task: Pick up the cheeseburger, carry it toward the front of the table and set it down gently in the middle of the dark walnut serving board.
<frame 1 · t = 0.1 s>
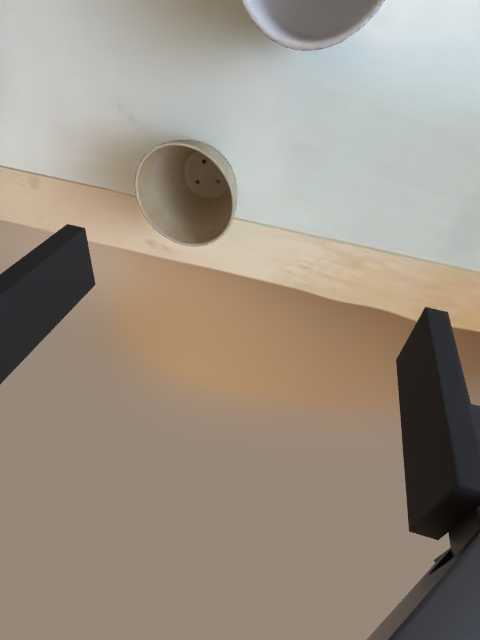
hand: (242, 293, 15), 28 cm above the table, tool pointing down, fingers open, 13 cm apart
bowl: (207, 172, 42), on the table
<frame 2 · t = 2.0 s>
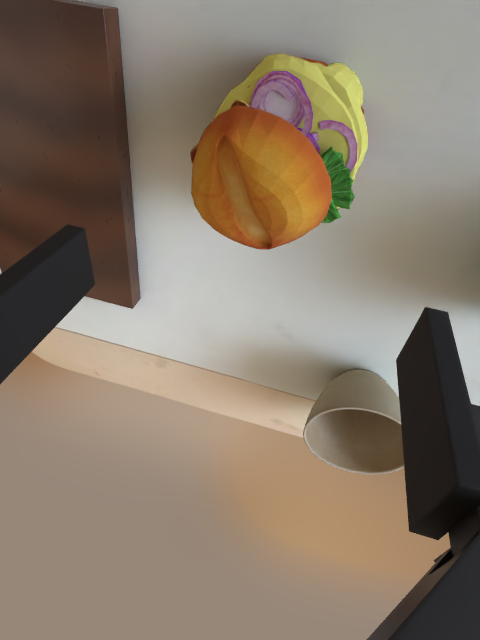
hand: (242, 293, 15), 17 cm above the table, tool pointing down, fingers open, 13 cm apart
bowl: (359, 383, 40), on the table
serving board: (52, 170, 33), on the table
cheeseburger: (290, 143, 27), on the table
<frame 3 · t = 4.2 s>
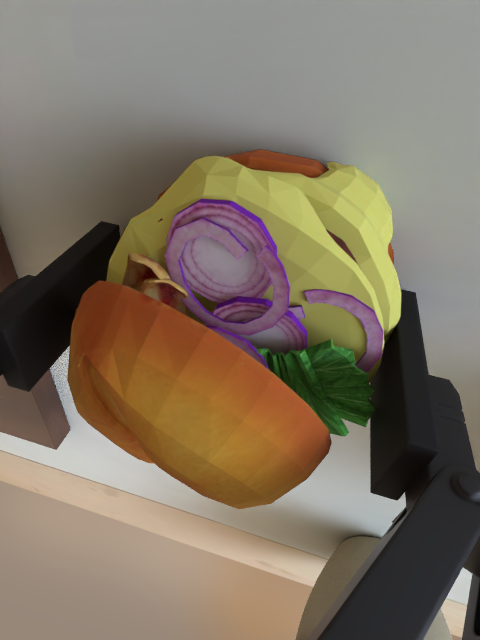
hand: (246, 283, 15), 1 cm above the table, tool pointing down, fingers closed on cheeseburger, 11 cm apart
bowl: (374, 548, 29), on the table
cheeseburger: (262, 272, 16), on the table, touching gripper
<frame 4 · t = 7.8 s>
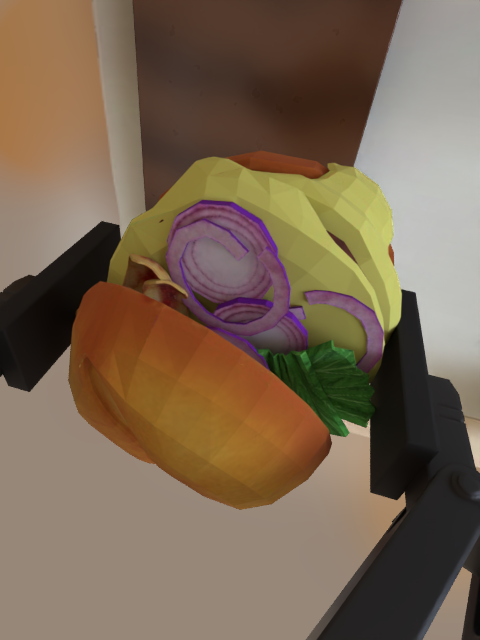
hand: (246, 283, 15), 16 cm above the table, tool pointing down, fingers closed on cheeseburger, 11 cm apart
serving board: (246, 163, 29), on the table
cheeseburger: (262, 273, 16), point 15 cm above the table, touching gripper
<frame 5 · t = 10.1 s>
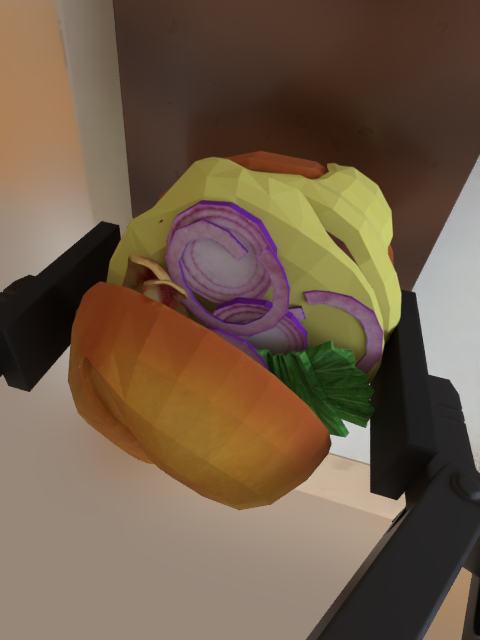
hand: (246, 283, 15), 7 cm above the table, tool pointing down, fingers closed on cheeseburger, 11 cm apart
serving board: (277, 214, 20), on the table
cheeseburger: (262, 273, 16), point 6 cm above the table, touching gripper
when the fingers open (2 cm above the table, at t = 11.7 s): cheeseburger stays where it is, resting on serving board.
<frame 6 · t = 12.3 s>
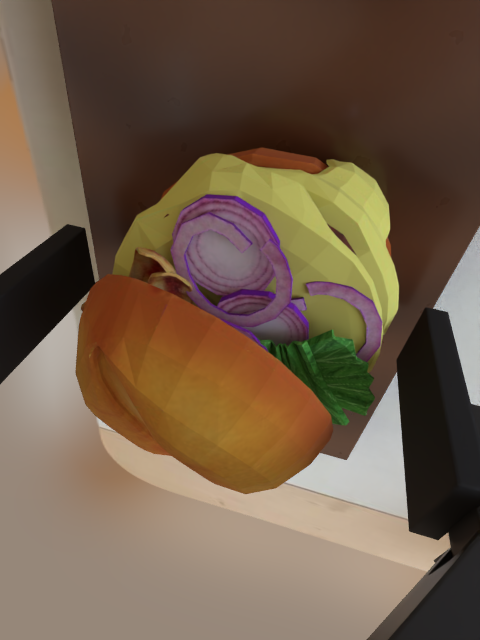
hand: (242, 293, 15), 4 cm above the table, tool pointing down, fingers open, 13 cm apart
serving board: (260, 248, 18), on the table
cheeseburger: (262, 268, 16), point 2 cm above the table, touching serving board
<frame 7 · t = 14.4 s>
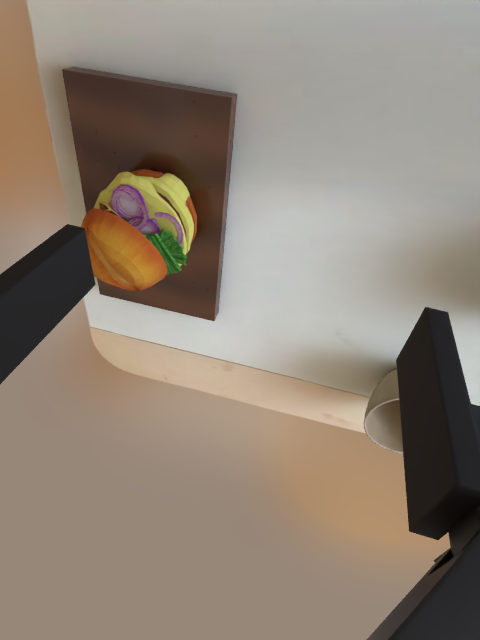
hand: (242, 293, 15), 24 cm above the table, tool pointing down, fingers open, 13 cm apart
bowl: (405, 380, 48), on the table
serving board: (158, 210, 41), on the table
cheeseburger: (156, 217, 40), point 2 cm above the table, touching serving board
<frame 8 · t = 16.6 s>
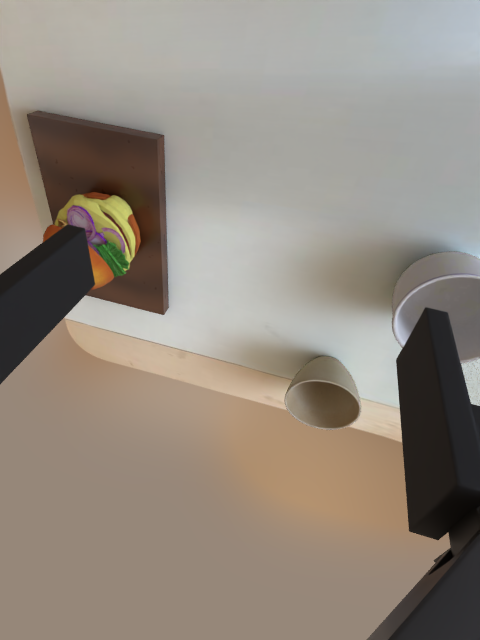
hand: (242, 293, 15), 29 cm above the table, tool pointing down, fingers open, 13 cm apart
bowl: (326, 367, 56), on the table
teacup: (453, 284, 43), on the table
serving board: (112, 223, 50), on the table
cheeseburger: (109, 229, 48), point 2 cm above the table, touching serving board
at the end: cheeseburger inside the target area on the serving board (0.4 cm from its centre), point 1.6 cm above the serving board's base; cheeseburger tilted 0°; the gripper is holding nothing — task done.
